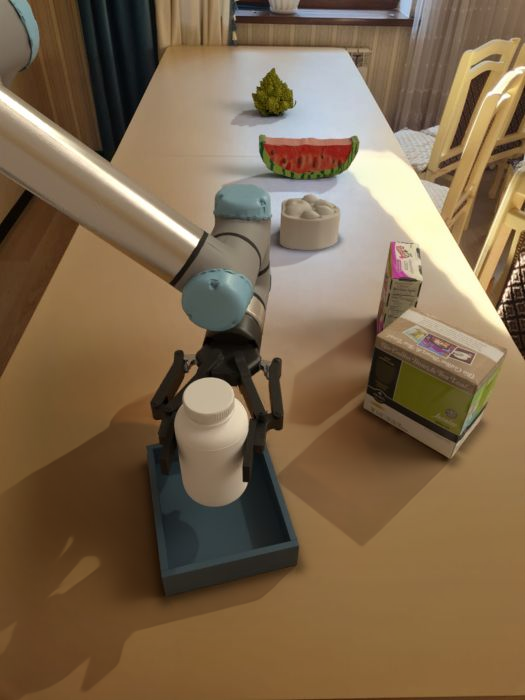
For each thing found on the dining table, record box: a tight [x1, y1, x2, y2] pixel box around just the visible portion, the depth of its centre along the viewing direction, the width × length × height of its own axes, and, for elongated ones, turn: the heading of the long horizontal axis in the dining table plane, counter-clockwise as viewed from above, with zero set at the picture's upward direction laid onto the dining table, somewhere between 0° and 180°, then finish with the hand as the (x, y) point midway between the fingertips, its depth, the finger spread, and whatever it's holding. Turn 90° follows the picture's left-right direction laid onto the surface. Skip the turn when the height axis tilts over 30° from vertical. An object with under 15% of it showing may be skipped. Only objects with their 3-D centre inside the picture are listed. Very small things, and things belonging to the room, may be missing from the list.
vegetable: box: [251, 67, 297, 117], centre depth 184 cm, size 15×16×15 cm
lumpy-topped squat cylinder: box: [279, 193, 342, 251], centre depth 119 cm, size 10×13×9 cm
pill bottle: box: [174, 378, 249, 507], centre depth 60 cm, size 8×8×15 cm
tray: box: [145, 441, 300, 597], centre depth 68 cm, size 19×16×4 cm
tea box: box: [363, 306, 509, 460], centre depth 78 cm, size 15×10×15 cm, turn 48°
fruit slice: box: [258, 133, 360, 180], centre depth 145 cm, size 26×6×10 cm, turn 91°
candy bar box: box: [376, 241, 424, 336], centre depth 91 cm, size 11×5×16 cm, turn 171°
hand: (204, 470), depth 56 cm, fingers closed on pill bottle, 8 cm apart
